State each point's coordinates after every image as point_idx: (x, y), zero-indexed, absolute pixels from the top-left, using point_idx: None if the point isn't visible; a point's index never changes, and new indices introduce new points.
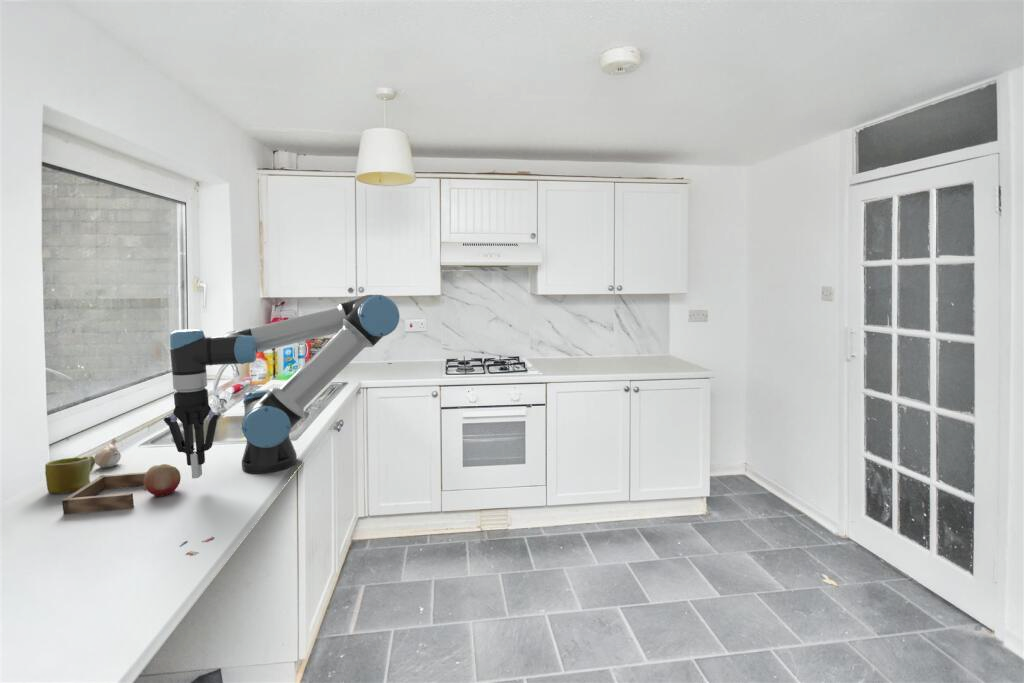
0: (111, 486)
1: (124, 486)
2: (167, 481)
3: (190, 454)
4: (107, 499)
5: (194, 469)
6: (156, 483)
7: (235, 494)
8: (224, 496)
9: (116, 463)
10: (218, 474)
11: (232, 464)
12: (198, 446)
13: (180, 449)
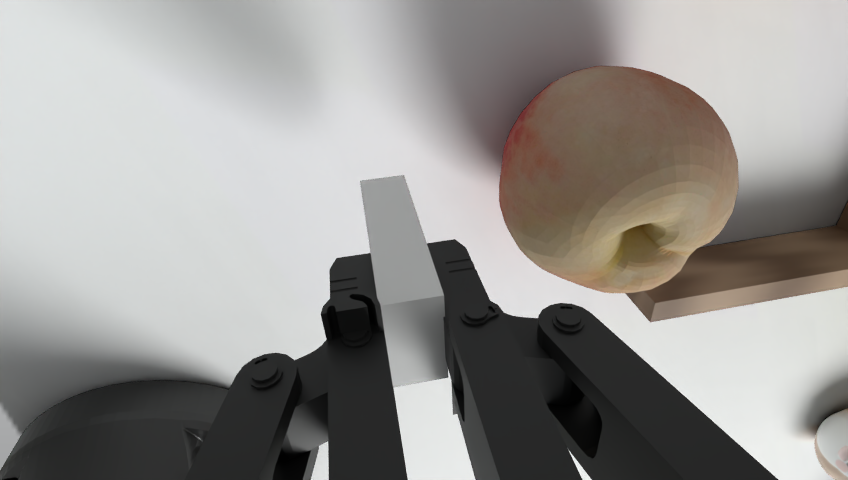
0: (821, 235)
1: (767, 240)
2: (554, 105)
3: (443, 297)
4: None
5: (390, 211)
6: (621, 74)
7: (52, 76)
8: (119, 47)
9: (818, 432)
10: None
11: None
12: (362, 385)
13: (565, 325)
